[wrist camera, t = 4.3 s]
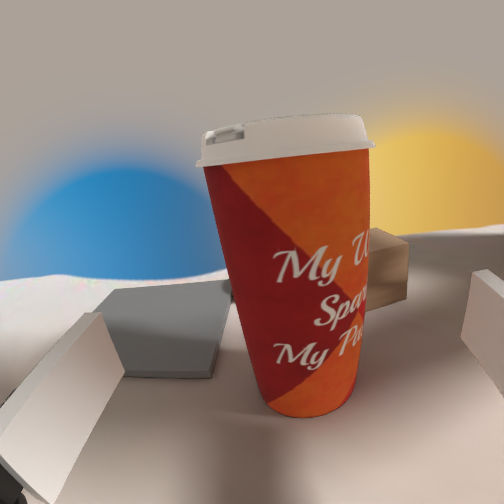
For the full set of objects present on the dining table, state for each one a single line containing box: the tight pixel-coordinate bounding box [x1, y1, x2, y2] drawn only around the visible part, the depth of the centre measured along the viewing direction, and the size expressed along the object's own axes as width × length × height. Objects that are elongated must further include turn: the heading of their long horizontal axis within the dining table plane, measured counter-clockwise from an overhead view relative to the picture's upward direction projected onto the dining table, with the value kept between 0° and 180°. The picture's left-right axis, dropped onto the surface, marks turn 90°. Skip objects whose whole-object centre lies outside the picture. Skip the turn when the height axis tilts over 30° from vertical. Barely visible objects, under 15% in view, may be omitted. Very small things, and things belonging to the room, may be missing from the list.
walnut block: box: [365, 228, 409, 312], centre depth 25 cm, size 5×5×5 cm
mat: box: [92, 279, 233, 378], centre depth 26 cm, size 14×14×1 cm
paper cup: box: [195, 114, 375, 418], centre depth 15 cm, size 8×8×14 cm
